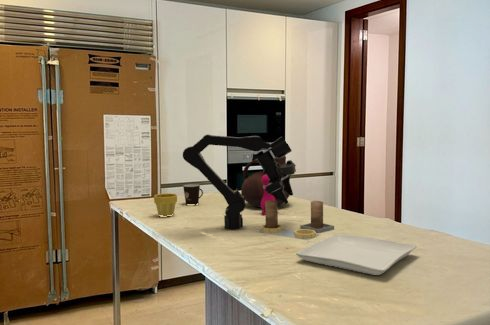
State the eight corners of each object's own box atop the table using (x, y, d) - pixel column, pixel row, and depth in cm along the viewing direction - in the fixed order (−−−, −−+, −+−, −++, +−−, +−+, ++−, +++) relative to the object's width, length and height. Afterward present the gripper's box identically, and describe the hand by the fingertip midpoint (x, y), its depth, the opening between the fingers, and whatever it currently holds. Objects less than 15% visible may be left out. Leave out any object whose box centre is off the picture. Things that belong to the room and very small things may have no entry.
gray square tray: (317, 236, 157) (317, 229, 157) (300, 231, 164) (300, 225, 164) (334, 232, 162) (334, 225, 162) (316, 227, 170) (316, 221, 169)
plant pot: (180, 216, 195) (179, 195, 194) (158, 219, 191) (157, 197, 190) (174, 212, 205) (173, 192, 204) (152, 215, 200) (151, 194, 199)
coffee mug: (181, 203, 227) (181, 185, 226) (197, 202, 231) (196, 183, 230) (188, 207, 217) (187, 188, 216) (204, 205, 220) (204, 186, 219)
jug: (256, 199, 234) (255, 154, 232) (299, 203, 221) (298, 155, 219) (231, 208, 213) (230, 157, 211) (277, 212, 200) (276, 159, 198)
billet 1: (271, 232, 159) (270, 203, 158) (263, 230, 163) (262, 201, 162) (280, 230, 162) (280, 201, 161) (272, 228, 166) (271, 199, 165)
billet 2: (317, 232, 160) (317, 203, 159) (308, 230, 164) (308, 202, 163) (325, 230, 163) (325, 202, 162) (316, 228, 166) (316, 200, 165)
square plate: (337, 242, 150) (337, 231, 150) (417, 256, 133) (418, 244, 132) (294, 263, 129) (294, 250, 129) (383, 283, 112) (383, 268, 111)
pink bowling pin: (258, 215, 196) (257, 171, 194) (264, 212, 202) (264, 169, 200) (272, 216, 192) (272, 171, 190) (279, 213, 199) (278, 170, 197)
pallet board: (256, 234, 162) (256, 227, 161) (270, 229, 169) (270, 222, 168) (307, 243, 148) (307, 236, 148) (320, 237, 155) (320, 230, 155)
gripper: (281, 161, 154) (303, 198, 155) (291, 149, 171) (311, 182, 172) (255, 175, 158) (277, 211, 160) (268, 162, 175) (288, 194, 177)
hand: (289, 199), depth 167 cm, fingers open, 9 cm apart
